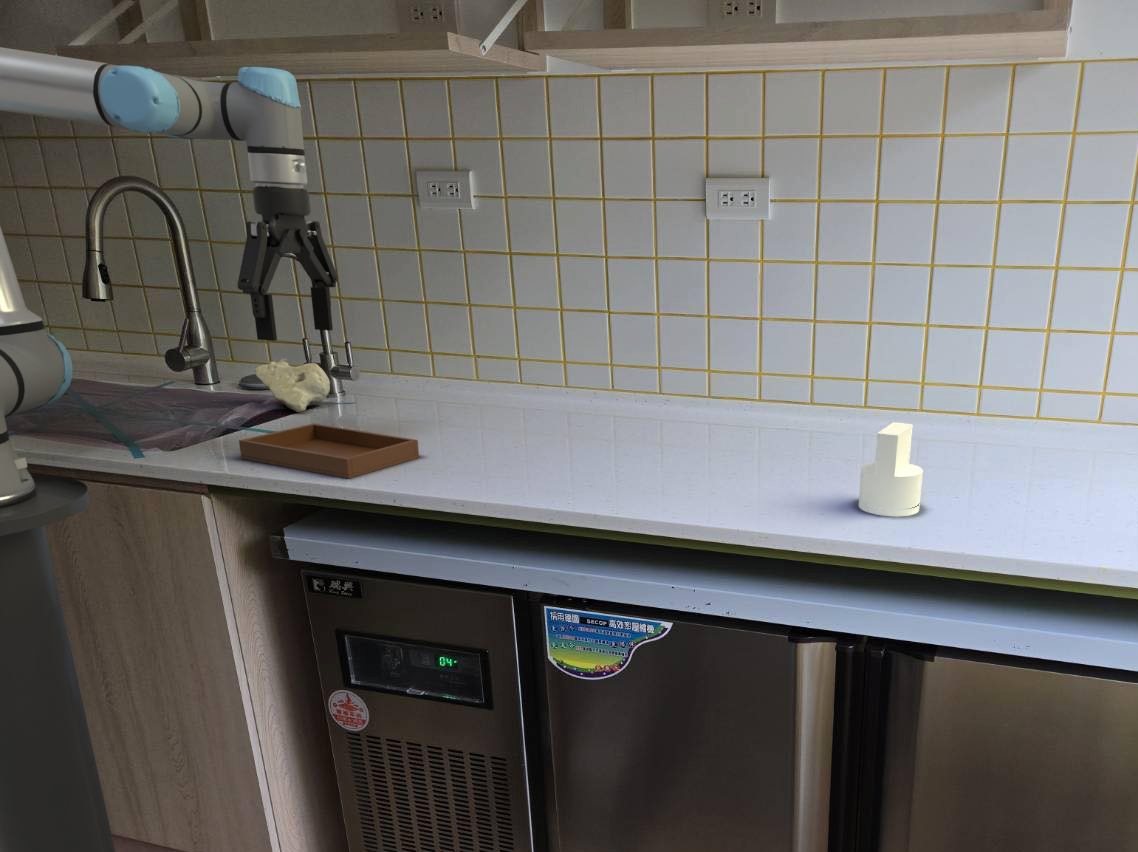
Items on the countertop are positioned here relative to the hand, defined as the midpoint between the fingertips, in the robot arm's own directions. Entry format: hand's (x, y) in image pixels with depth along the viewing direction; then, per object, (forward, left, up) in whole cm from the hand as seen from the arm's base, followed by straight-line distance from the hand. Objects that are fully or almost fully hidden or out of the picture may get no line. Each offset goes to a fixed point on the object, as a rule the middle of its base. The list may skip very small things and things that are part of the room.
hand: (296, 335), depth 149 cm
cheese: (+32, +42, -21) cm, 57 cm away
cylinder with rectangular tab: (+27, -87, -21) cm, 94 cm away
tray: (+6, +3, -21) cm, 22 cm away
